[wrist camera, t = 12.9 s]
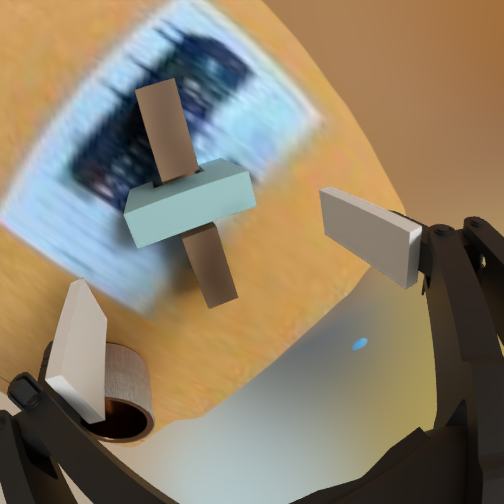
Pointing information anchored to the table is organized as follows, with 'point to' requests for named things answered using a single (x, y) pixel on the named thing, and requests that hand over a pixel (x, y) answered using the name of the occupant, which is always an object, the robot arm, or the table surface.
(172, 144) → the walnut fin
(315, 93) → the table surface
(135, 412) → the planter
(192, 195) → the light blue piece
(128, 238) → the table surface
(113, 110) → the table surface
